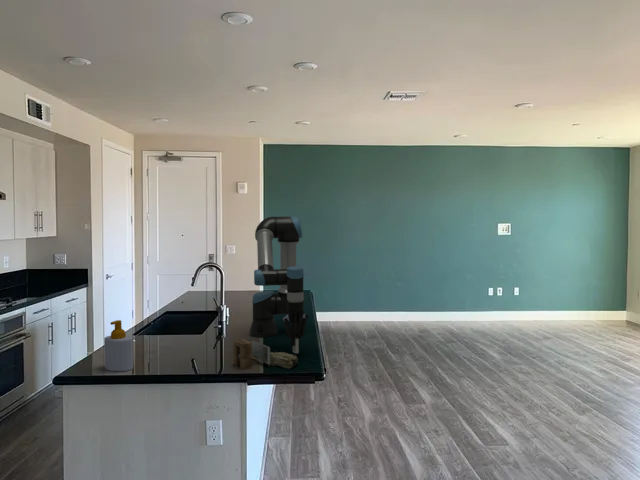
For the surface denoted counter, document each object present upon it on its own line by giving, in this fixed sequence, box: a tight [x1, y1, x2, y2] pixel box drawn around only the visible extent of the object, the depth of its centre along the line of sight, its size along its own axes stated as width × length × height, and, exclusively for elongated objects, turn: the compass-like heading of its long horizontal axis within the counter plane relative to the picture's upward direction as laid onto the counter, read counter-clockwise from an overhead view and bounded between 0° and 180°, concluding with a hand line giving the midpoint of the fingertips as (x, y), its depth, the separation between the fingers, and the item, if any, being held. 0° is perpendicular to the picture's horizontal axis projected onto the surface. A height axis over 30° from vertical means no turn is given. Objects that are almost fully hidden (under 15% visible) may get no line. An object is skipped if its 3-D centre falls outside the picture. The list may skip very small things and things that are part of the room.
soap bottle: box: [103, 319, 134, 372], centre depth 192 cm, size 13×8×20 cm, turn 69°
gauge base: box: [233, 338, 256, 370], centre depth 199 cm, size 12×12×10 cm
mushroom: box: [268, 351, 299, 370], centre depth 196 cm, size 14×10×5 cm, turn 60°
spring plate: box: [239, 340, 271, 365], centre depth 196 cm, size 10×14×7 cm
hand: (295, 352), depth 207 cm, fingers closed
